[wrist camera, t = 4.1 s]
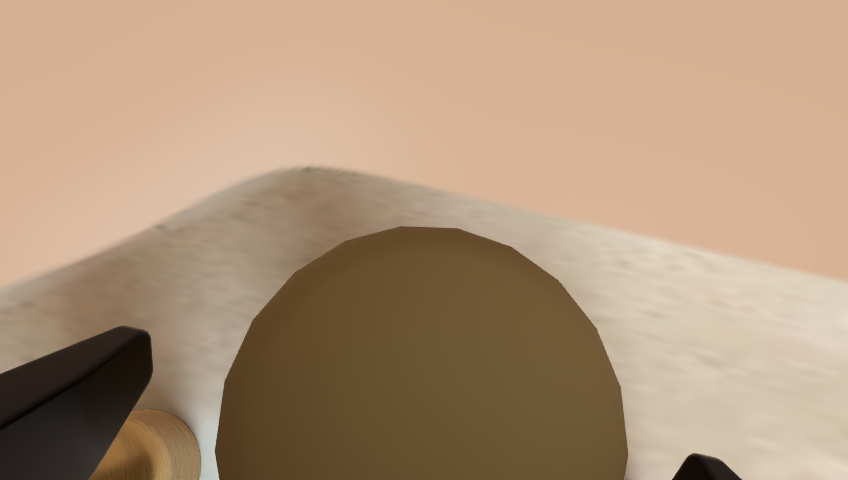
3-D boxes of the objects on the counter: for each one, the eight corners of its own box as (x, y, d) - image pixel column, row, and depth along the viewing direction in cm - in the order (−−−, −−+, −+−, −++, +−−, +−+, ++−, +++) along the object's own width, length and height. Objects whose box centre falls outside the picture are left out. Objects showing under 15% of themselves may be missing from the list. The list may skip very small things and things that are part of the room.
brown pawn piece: (354, 552, 14) (251, 1014, 3) (278, 360, 15) (49, 282, 5) (529, 451, 15) (845, 569, 5) (444, 282, 17) (537, 89, 6)
